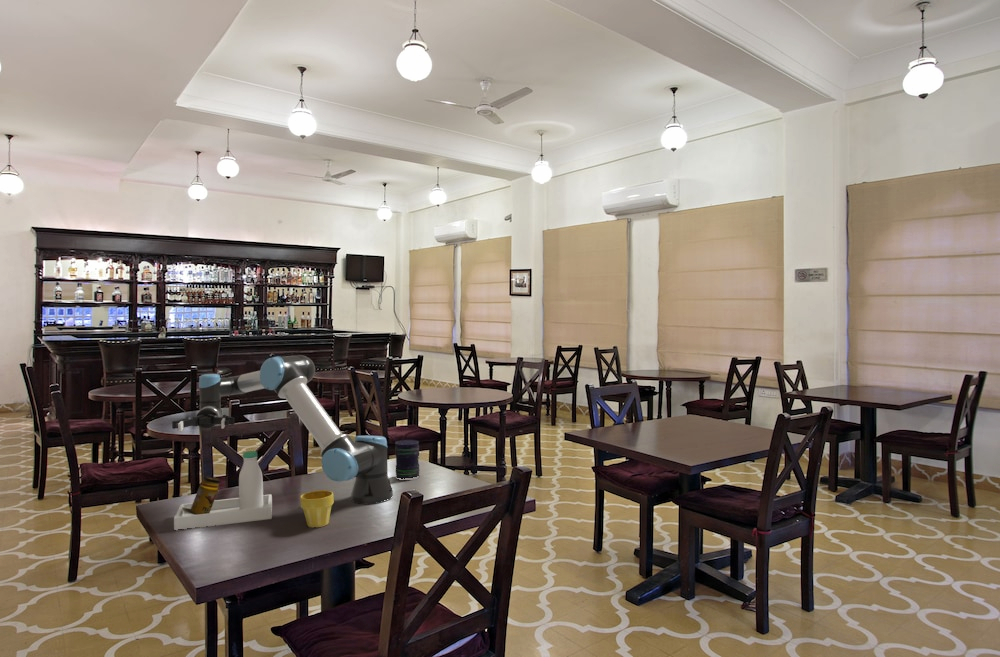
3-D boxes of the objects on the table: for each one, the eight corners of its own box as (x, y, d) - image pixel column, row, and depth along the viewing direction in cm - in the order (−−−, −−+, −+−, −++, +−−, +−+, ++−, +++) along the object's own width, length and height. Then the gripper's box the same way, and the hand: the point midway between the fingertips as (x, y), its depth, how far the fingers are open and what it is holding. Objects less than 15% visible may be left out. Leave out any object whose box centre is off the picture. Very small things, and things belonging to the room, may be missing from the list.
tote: (271, 505, 218) (271, 494, 218) (271, 518, 203) (271, 506, 203) (181, 515, 208) (181, 504, 208) (174, 530, 193) (173, 518, 193)
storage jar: (424, 477, 253) (423, 441, 252) (405, 482, 246) (404, 445, 245) (409, 473, 259) (408, 438, 259) (390, 478, 252) (390, 442, 252)
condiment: (211, 518, 201) (224, 482, 204) (184, 513, 197) (198, 477, 199) (207, 512, 207) (220, 478, 210) (181, 508, 203) (195, 472, 205)
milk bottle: (267, 508, 210) (266, 451, 210) (246, 514, 204) (244, 455, 204) (256, 504, 215) (255, 448, 215) (235, 510, 209) (233, 452, 209)
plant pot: (294, 528, 193) (293, 497, 193) (313, 518, 203) (312, 489, 203) (322, 531, 190) (321, 500, 190) (340, 520, 200) (339, 490, 200)
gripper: (243, 424, 235) (240, 434, 215) (171, 429, 227) (161, 440, 207) (242, 405, 235) (239, 413, 215) (170, 409, 227) (160, 418, 207)
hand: (201, 426), depth 211 cm, fingers open, 13 cm apart
